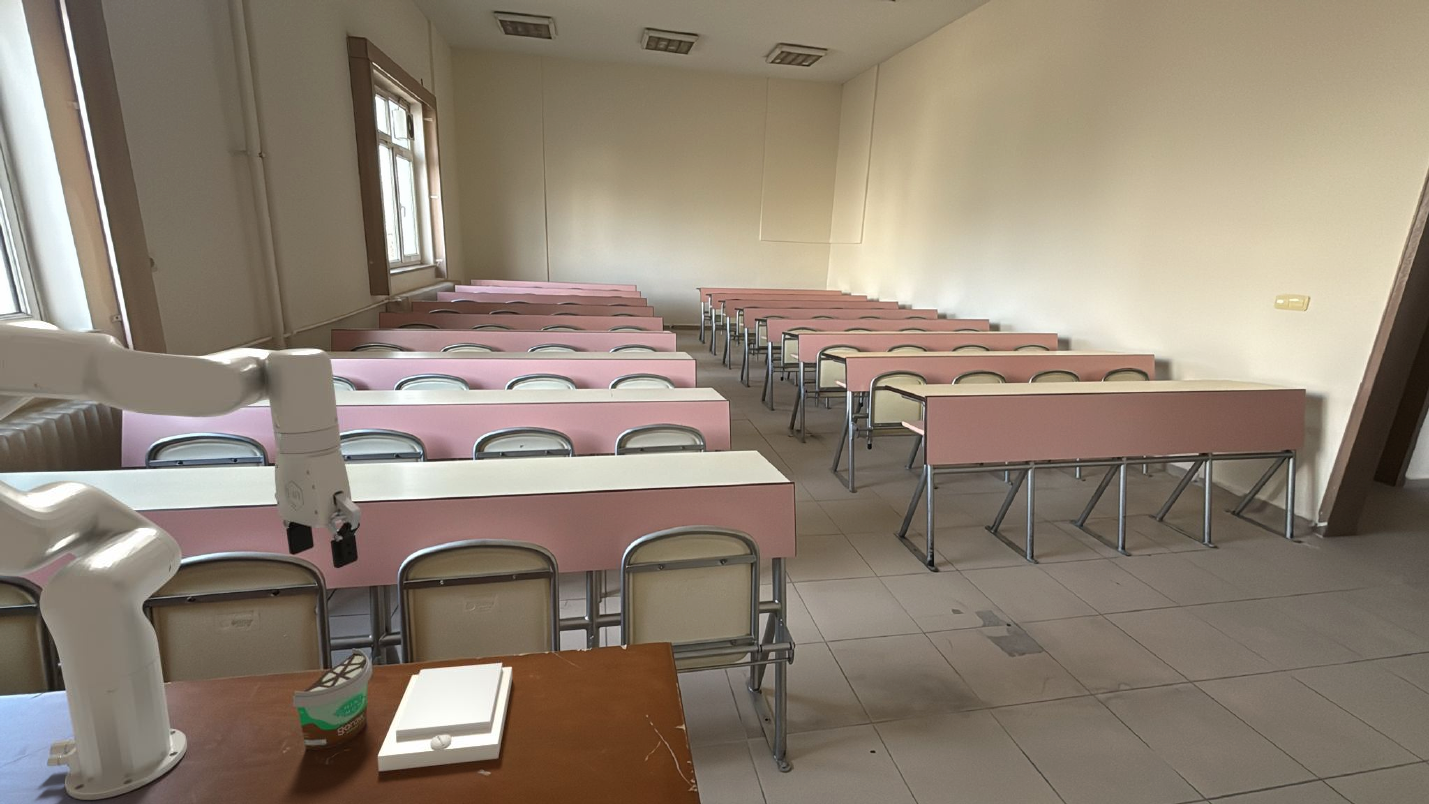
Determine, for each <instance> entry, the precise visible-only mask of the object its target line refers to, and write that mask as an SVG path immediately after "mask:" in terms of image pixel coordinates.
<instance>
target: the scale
mask: <svg viewBox="0 0 1429 804" xmlns="http://www.w3.org/2000/svg"><path fill="white" fill-rule="evenodd" d="M512 682H513V667H512V666H505V667H503V662H498V663H497V662H496V663H486V664H473V665H471V664H470V665H462V666H460V665H459V666H450V667H436V668H424V669H420V671H419V673H418V674H411V677H410V680H409V682H408V684H407V687H406V689H405V691H404V694H403V697H402V699H401V700H400V704H399V705H398V708H397V710H396V713H395V715H394V717H393V719H392V722H391V724H390V726H389V730H388V731H387V734H386V737H385V738H384V741H383V743H382V745H381V748H380V749H379V752H378V755H377V764H378V765H377V766H378V772H387V771H395V770H403V769H404V770H405V769H414V768H422V767H430V766H431V767H432V766H440V765H451V764H460V763H467V762H476V761H486V760H497V759H499V755H500V750H501V745H502V744H501V743H502V738H503V733H504V727H505V723H506V716H507V710H508V705H509V700H510V694H511V689H512V688H511V687H512V684H513V683H512Z"/></svg>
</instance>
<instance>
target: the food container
mask: <svg viewBox="0 0 1429 804" xmlns="http://www.w3.org/2000/svg"><path fill="white" fill-rule="evenodd" d="M351 651H352V654H351V655H350V656H348V658H346V659H345V660H344V661H342V662H341V663H339V664H338V665H335V666H334V667H331V668H330V669H329V670H327V671H326V672H325V673H323V674H322V675H321V676H319V678H318V679H317V680H316V681H315V682H313V683H312V684H311V685H310V686H309V687H308V688H307V689H305V690H303V691H296V690H294V691H293V693H294V695H293V697H292V707H293V708H297V713H298V717H299V723H300V726H301V731H302V736H303V740H304V745H305V749H306V750H313V751H314V750H325V749H329V748H333V747H336V746H340V745H341V744H345V743H346V742H349V741H350V740H351V739H353V738H354V737H356V736H357V735H359V734H360V733H361V731H362V730H363V729H364V728H365V726H366V725H367V724H366V723H367V720H368V718H367V717H368V715H367V712H368V682H369V680H370V679H371V677H372V675H373V667H372V664H371V662H370V658H369V657H368V656H367V655H366V653H365V652H364V651H362V650H360V649H357V648H354V647H353V648H352V649H351Z"/></svg>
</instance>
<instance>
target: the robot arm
mask: <svg viewBox="0 0 1429 804" xmlns="http://www.w3.org/2000/svg"><path fill="white" fill-rule="evenodd" d="M34 398H42V399H43V398H44V399H55V400H56V399H57V400H71V401H83V402H95V403H99V404H102V405H104V406H107V407H111V408H115V409H118V410H122V411H126V412H129V413H130V412H131V413H135V414H144V415H154V416H155V415H156V416H170V417H186V418H187V417H188V418H213V417H214V418H216V417H220V416H226V415H228V414H231V413H234V412H236V411H238V410H240V409H243V408H245V407H249V406H251V405H254V404H257V403H259V402H261V401H262V402H263V401H269V407H270V413H271V421H272V428H273V438H274V443H275V449H276V451H275V458H274V483H275V484H274V485H275V493H274V498H275V500H276V505H277V506H276V507H277V513H278V515H279V516H280V517H281V518H282V519H283V520H282V525H283V527H285V530H286V535H287V536H286V537H287V543H288V544H287V545H288V552H289V554H290V555H293V556H296V555H297V554H301V553H303V552H305V551H308V550H311V549H313V548H314V547H315V544H314V537H313V536H314V535H313V530H312V529H313V528H315V529H320V528H323V527H325V526H326V528H327V530H328V532H329V533H330V535H331V537H332V538H333V540H330V548H331V555H332V564H333V565H332V566H333V567H334V568H336V569H341V568H343V567H345V566H347V565H350V564H352V563H355V562H357V561H358V559H359V556H358V554H359V553H358V548H357V547H358V546H357V539H356V536H357V535H358V529H359V528H360V525H361V523H360V521H361V519H362V518H361V517H362V513H363V511H362V509H361V508H360V507H359V506H358V505H357V504H355V502H353V501H352V495H351V494H352V493H351V486H350V481H349V477H348V471H347V466H346V462H345V459H344V456H343V453H342V449H341V448H342V441H341V433H340V425H339V419H338V410H337V409H338V408H337V399H336V392H335V383H334V373H333V366H332V359H331V356H330V355H329V354H328V353H327V352H326V351H324V350H323V349H319V348H292V349H291V348H289V349H282V350H281V349H280V350H271V349H260V348H250V347H238V348H237V347H236V348H230V349H226V350H221V351H217V352H213V353H207V354H206V355H199V356H198V355H197V356H196V355H181V354H171V353H170V354H169V353H159V352H158V353H156V352H148V351H141V350H140V351H139V350H135V349H130V348H126V347H124V345H123V343H122V342H121V341H120V340H119V339H118V338H117V337H115V336H114V335H113V336H112V335H110V334H107V333H101V332H100V333H98V332H89V331H88V332H86V331H77V330H76V331H75V330H63V329H61V328H60V327H59V326H57V325H54V324H51V323H50V322H46V321H43V320H39V319H31V318H28V319H27V318H17V319H3V320H0V421H2V420H3V419H4V418H6V417H7V416H9V415H11V414H12V413H13V412H15V411H17V410H18V409H19V408H21V407H22V406H24V405H25V404H27V403H28V402H30V401H31V400H32V399H34ZM338 523H343V524H342V525H341V526H340V528H338V526H337V524H338ZM67 554H71V555H73V556H75V558H73V559H72V560H70V561H68V562H67V563H66V564H64V565H62V566H61V567H60V568H58V570H57V571H55V572H54V574H52V576H51V577H50V578H49V579H48V580H47V581H46V583H45V585H44V587H43V588H42V590H41V593H40V597H39V609H40V613H41V616H42V619H43V620H44V622H45V624H46V626H47V629H48V631H49V632H50V634H51V636H52V639H53V641H54V644H55V647H56V650H57V654H58V657H59V662H60V667H61V673H62V678H63V682H64V688H65V692H66V698H67V706H68V711H69V715H70V716H69V718H70V722H71V728H72V733H73V739H65V740H56V741H54V742H53V743H52V745H50V749H49V755H50V756H49V758H48V759H47V761H46V766H47V767H48V768H49V767H61V766H64V765H66V766H67V767H69V771H68V773H67V774H66V776H65V780H64V787H65V791H66V794H68V795H69V796H70V797H72V798H73V799H78V800H83V801H84V800H87V801H88V800H89V801H91V800H93V801H95V800H101V799H106V798H112V797H113V798H114V797H116V796H119V795H122V794H125V793H129V792H131V791H133V790H136V789H138V788H141V787H143V786H145V785H147V784H149V783H151V782H152V781H154V780H157V779H158V778H160V777H161V776H163V775H164V774H166V773H167V772H169V771H170V770H171V769H173V767H174V766H175V765H176V764H177V763H179V761H180V760H181V759H182V758H183V756H184V755H185V753H186V751H187V748H188V742H187V737H186V735H185V733H183V731H181V730H178V729H175V728H171V725H170V718H169V717H170V716H169V712H168V710H169V709H168V703H167V697H166V690H165V683H164V677H163V669H162V663H161V654H160V649H159V642H158V637H157V634H156V631H155V628H154V626H153V624H152V623H151V621H150V620H149V619H148V618H147V616H146V615H145V613H144V611H143V605H144V603H145V601H147V600H148V599H149V598H150V597H151V596H152V595H153V594H155V592H157V591H158V590H160V589H161V587H163V586H164V585H165V584H166V583H167V582H168V581H170V579H172V578H173V577H174V576H175V575H176V573H177V572H178V570H179V568H180V566H181V564H182V556H183V554H182V550H181V547H180V546H179V543H178V542H177V541H176V539H175V538H174V537H173V536H172V535H171V534H170V533H169V532H168V531H166V530H165V529H164V528H161V526H159V525H157V524H156V523H155V522H153V521H151V520H150V519H148V518H147V517H145V516H144V515H142V514H141V513H139V512H137V511H136V510H135V509H133V508H131V507H130V506H128V505H126V504H125V503H123V502H122V501H121V500H119V499H117V498H116V497H114V496H112V495H111V494H110V493H108V492H106V491H104V490H103V489H101V488H98V487H96V486H94V485H91V484H87V483H85V482H80V481H75V480H74V481H73V480H58V481H52V482H49V483H44V484H42V485H39V486H36V487H33V488H31V489H29V490H27V491H26V490H21V489H18V488H16V487H14V486H11V485H10V484H8V483H7V482H5V481H3V480H1V479H0V576H5V577H20V576H25V575H27V574H31V573H33V572H36V571H38V570H40V569H42V568H44V567H46V566H48V565H51V564H52V563H53V562H55V561H57V560H59V559H61V558H63V557H64V556H66V555H67Z"/></svg>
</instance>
